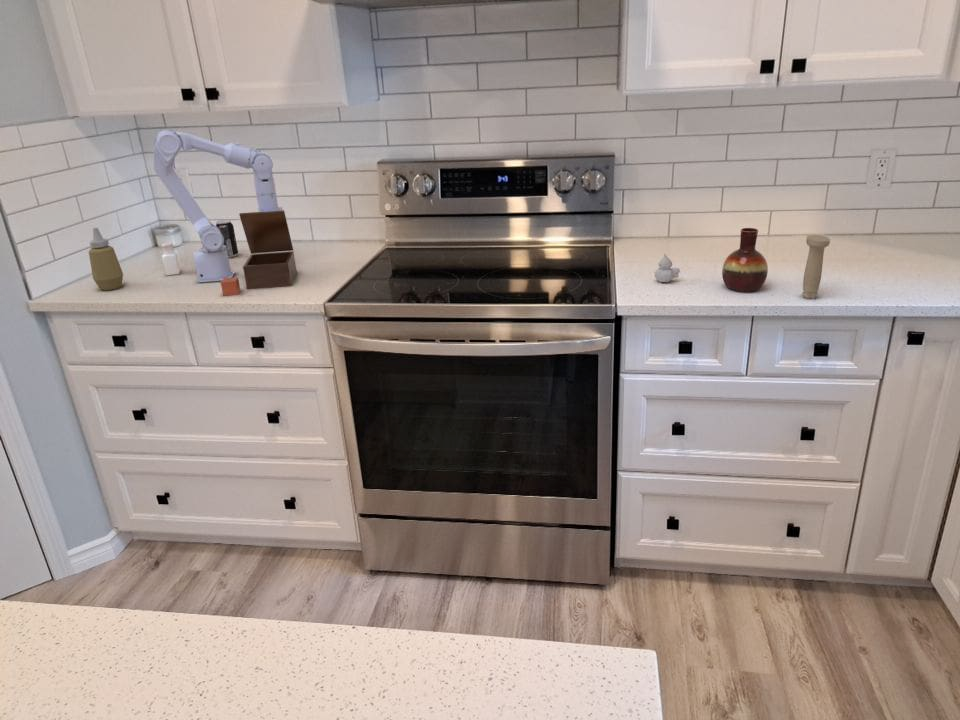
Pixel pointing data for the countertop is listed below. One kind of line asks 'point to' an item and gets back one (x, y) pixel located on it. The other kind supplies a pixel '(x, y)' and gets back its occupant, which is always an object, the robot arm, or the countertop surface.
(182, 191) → the robot arm
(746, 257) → the vase
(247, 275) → the chest
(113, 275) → the squeeze bottle
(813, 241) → the handle
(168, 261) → the pepper shaker
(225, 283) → the block
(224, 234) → the black upright box
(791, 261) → the countertop surface
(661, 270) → the grey rounded figurine
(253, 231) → the chest lid
